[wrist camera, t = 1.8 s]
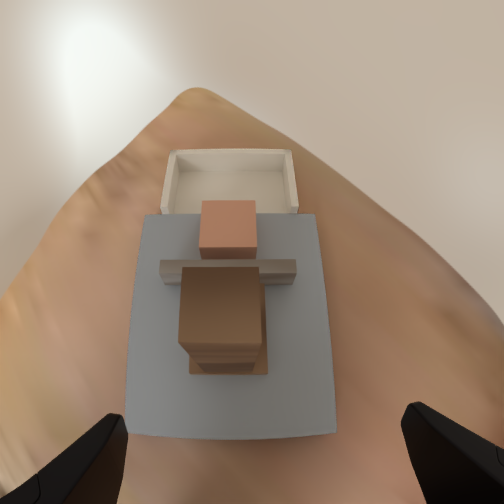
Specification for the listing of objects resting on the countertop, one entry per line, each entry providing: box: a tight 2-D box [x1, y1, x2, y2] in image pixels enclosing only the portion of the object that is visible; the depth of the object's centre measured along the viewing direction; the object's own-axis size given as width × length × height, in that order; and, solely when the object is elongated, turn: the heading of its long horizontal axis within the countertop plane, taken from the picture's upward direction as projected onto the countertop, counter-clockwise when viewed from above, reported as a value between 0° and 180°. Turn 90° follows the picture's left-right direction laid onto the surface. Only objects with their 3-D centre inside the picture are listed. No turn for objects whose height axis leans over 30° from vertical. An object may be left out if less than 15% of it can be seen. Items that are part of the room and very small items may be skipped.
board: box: [125, 213, 337, 440], centre depth 23 cm, size 17×14×2 cm
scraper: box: [159, 259, 297, 375], centre depth 17 cm, size 7×9×10 cm
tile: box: [199, 200, 257, 260], centre depth 24 cm, size 4×4×2 cm
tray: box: [160, 149, 299, 214], centre depth 28 cm, size 6×11×3 cm, turn 91°
